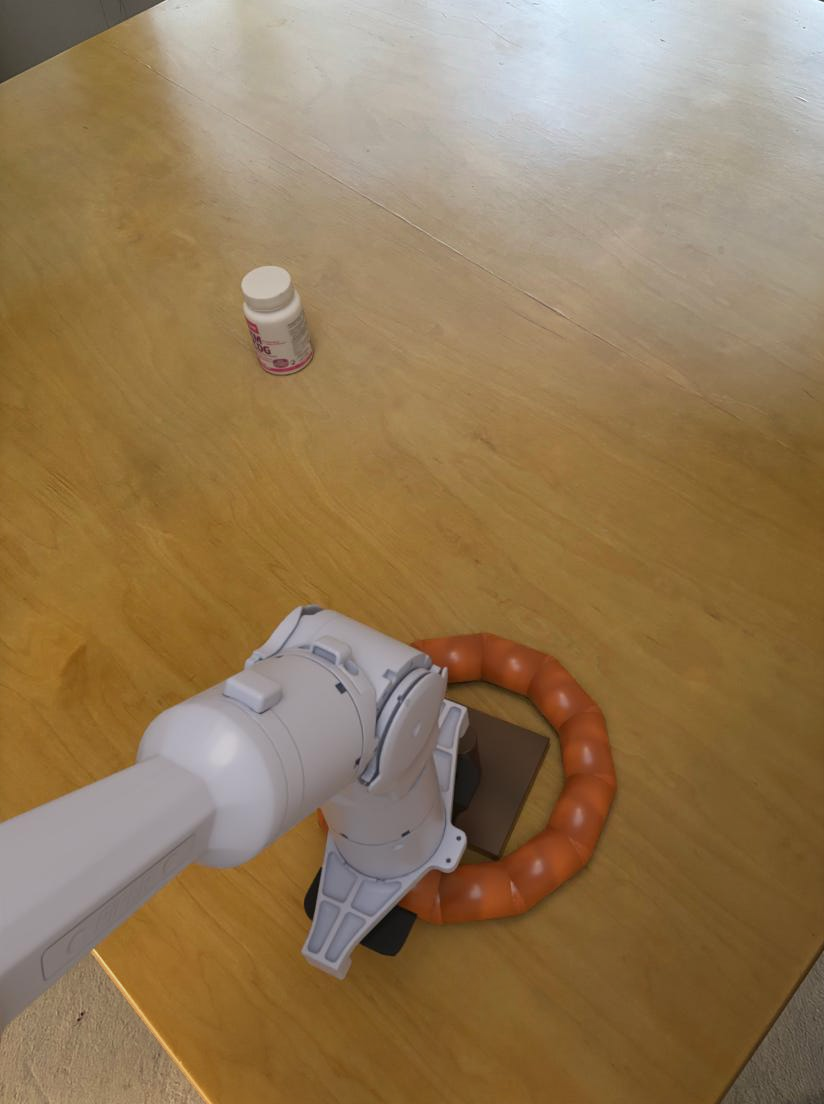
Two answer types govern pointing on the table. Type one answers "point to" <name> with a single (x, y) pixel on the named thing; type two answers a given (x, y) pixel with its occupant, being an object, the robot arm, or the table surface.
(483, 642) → the ring
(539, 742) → the square peg base
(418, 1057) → the table surface
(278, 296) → the pill bottle
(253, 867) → the table surface
